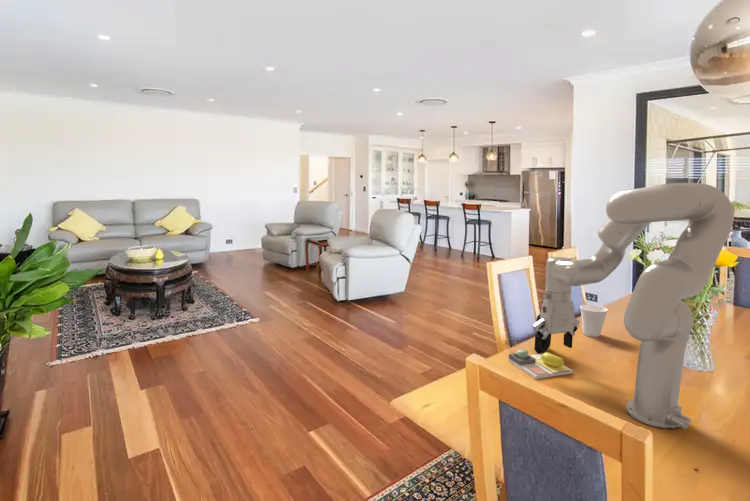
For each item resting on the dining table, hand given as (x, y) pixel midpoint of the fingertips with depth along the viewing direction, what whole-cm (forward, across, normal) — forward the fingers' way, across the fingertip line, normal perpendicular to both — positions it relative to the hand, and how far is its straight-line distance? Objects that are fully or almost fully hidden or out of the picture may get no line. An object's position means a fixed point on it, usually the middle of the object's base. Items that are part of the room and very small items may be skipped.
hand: (555, 348), depth 138 cm
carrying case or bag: (+7, +6, +14) cm, 16 cm away
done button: (+5, -7, +7) cm, 11 cm away
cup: (+7, +37, +23) cm, 44 cm away
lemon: (+6, 0, +1) cm, 6 cm away
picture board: (+7, -3, +3) cm, 8 cm away
